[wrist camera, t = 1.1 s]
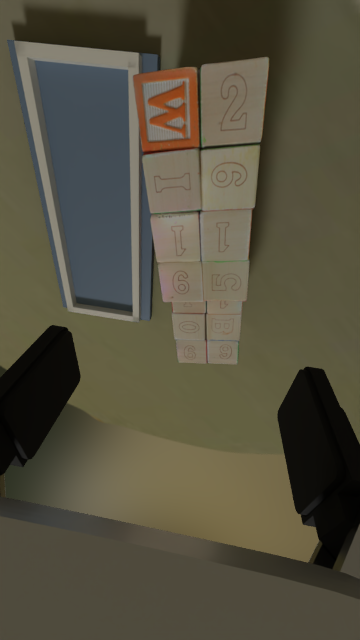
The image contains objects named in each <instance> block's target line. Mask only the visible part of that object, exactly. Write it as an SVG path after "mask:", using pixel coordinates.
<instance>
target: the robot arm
mask: <svg viewBox="0 0 360 640" xmlns="http://www.w3.org/2000/svg"><path fill="white" fill-rule="evenodd" d="M79 381H80V371H79V366H78V361H77V356H76V352H75V347H74V342H73V338H72V333H71V332H70V331H68V329H67V328H66V327H61V326H55V325H52V326H50V327H49V328H48V329H47V330H46V331H45V332H44V333H43V334H42V335H41V336H40V337H39V338H38V339H37V340H36V341H35V342H34V343H33V344H32V345H31V346H30V347H29V348H28V349H27V350H26V351H25V353H24V354H23V355H22V356H21V357H20V358H19V359H18V360H17V361H16V362H15V363H14V364H13V365H12V366H11V367H10V368H9V369H8V370H7V371H6V372H5V373H4V374H3V375H2V377H0V640H360V444H359V442H358V440H357V438H356V435H355V433H354V431H353V429H352V427H351V424H350V422H349V420H348V418H347V415H346V413H345V412H344V410H343V409H342V408H341V407H340V405H339V403H338V401H337V398H336V396H335V394H334V392H333V389H332V387H331V385H330V383H329V380H328V378H327V376H326V374H325V372H324V370H323V369H319V368H313V367H305V368H304V370H302V369H301V370H299V372H298V374H297V376H296V378H295V379H294V381H293V383H292V385H291V387H290V389H289V391H288V393H287V395H286V397H285V399H284V400H283V402H282V404H281V406H280V408H279V410H278V423H279V428H280V433H281V438H282V443H283V448H284V454H285V459H286V464H287V469H288V474H289V479H290V484H291V489H292V494H293V500H294V505H295V509H296V511H297V513H298V514H301V518H302V523H303V525H308V526H313V527H316V530H317V534H318V538H319V542H318V544H317V546H316V548H315V550H314V552H313V554H312V556H311V558H310V560H309V562H308V563H306V562H302V561H298V560H293V559H290V558H286V557H281V556H277V555H273V554H269V553H264V552H260V551H255V550H251V549H246V548H242V547H237V546H233V545H228V544H223V543H218V542H214V541H210V540H205V539H200V538H196V537H191V536H187V535H182V534H177V533H172V532H168V531H163V530H159V529H154V528H149V527H145V526H140V525H135V524H131V523H126V522H121V521H116V520H112V519H107V518H102V517H98V516H93V515H88V514H84V513H79V512H74V511H69V510H64V509H60V508H54V507H50V506H45V505H40V504H36V503H31V502H26V501H21V500H15V499H9V498H6V494H5V477H4V473H5V471H6V470H7V468H8V467H9V465H14V466H19V467H24V465H25V463H26V462H27V460H28V459H32V457H33V456H34V455H35V454H36V452H37V450H38V449H39V447H40V446H41V444H42V442H43V440H44V439H45V437H46V436H47V434H48V432H49V431H50V429H51V427H52V426H53V424H54V423H55V421H56V419H57V418H58V416H59V415H60V413H61V411H62V409H63V408H64V406H65V405H66V403H67V401H68V400H69V398H70V397H71V395H72V393H73V392H74V390H75V388H76V387H77V385H78V383H79Z"/></svg>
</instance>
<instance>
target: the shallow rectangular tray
mask: <svg viewBox="0 0 360 640" xmlns="http://www.w3.org/2000/svg"><path fill="white" fill-rule="evenodd" d="M7 41H8V46H9V51H10V56H11V60H12V65H13V70H14V75H15V79H16V84H17V89H18V94H19V98H20V103H21V108H22V113H23V117H24V122H25V127H26V131H27V136H28V141H29V146H30V150H31V155H32V160H33V165H34V169H35V174H36V179H37V184H38V188H39V193H40V198H41V203H42V207H43V212H44V217H45V222H46V226H47V231H48V236H49V240H50V245H51V250H52V255H53V259H54V264H55V269H56V274H57V278H58V283H59V288H60V293H61V297H62V302H63V307H66V308H68V311H70V312H76V313H82V314H89V315H95V316H101V317H107V318H114V319H120V320H126V321H132V322H138V323H139V321H140V319H141V320H147V321H150V319H151V313H152V284H153V255H154V242H153V235H152V230H151V223H150V216H151V212H150V208H149V202H148V196H147V189H146V182H145V176H144V169H143V163H142V156H143V154H144V153H143V150H142V146H141V138H140V130H139V123H138V115H137V108H136V101H135V94H134V86H133V78H132V77H133V75H136V74H139V73H146V72H153V71H160V57H159V56H158V55H156V54H146V53H136V52H126V51H116V50H106V49H96V48H86V47H76V46H65V45H55V44H45V43H35V42H25V41H15V40H7Z"/></svg>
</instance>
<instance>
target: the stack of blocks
mask: <svg viewBox="0 0 360 640" xmlns="http://www.w3.org/2000/svg"><path fill="white" fill-rule="evenodd" d="M268 73H269V57H261V58H254V59H245V60H237V61H228V62H219V63H210V64H204V65H202V66H201V68H200V69H198V68H197V67H183V68H175V69H168V70H160V71H153V72H146V73H139V74H136V75H133V77H132V78H133V86H134V94H135V101H136V108H137V115H138V123H139V130H140V138H141V146H142V150H143V153H144V154H143V156H142V163H143V169H144V176H145V182H146V189H147V196H148V202H149V208H150V212H151V216H150V223H151V230H152V235H153V242H154V249H155V255H156V260H157V262H158V272H159V278H160V285H161V292H162V298H163V302H172V321H173V331H174V338H175V339H176V348H177V357H178V362H187V363H218V364H238V351H239V340H240V329H241V313H242V304H243V301H246V300H247V291H248V277H249V264H250V260H249V248H250V234H251V222H252V210H253V209H254V207H255V201H256V190H257V178H258V167H259V157H260V142H261V139H262V133H263V123H264V113H265V103H266V93H267V83H268Z"/></svg>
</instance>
